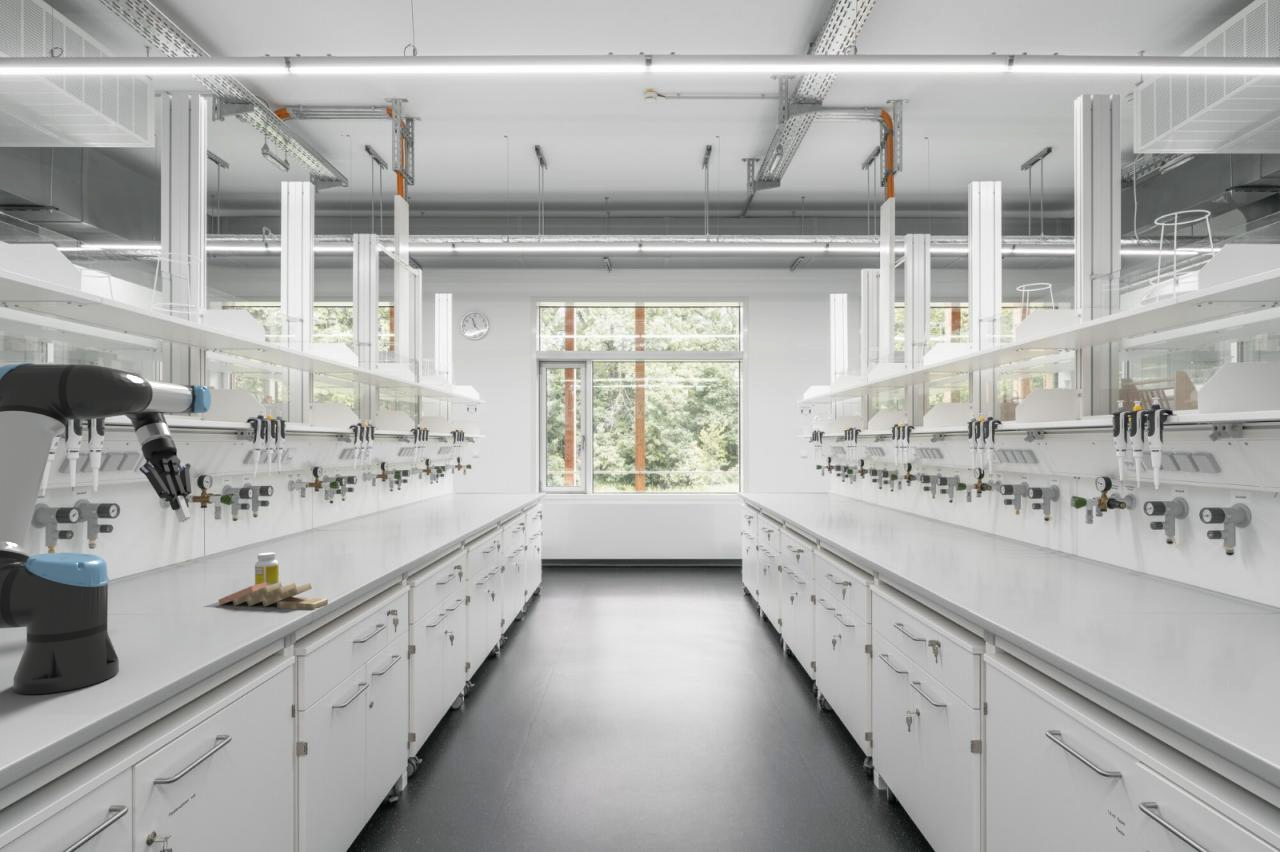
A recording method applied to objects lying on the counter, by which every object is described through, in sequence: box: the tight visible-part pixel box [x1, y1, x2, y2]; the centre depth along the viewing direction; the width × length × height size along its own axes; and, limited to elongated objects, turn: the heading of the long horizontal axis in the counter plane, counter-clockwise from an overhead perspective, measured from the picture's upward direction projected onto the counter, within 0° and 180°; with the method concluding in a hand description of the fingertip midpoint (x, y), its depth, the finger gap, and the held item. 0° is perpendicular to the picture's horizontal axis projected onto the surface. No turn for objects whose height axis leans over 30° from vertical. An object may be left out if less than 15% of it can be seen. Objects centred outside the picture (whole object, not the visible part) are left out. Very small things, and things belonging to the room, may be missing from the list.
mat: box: [203, 601, 280, 611], centre depth 186 cm, size 22×9×1 cm, turn 79°
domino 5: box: [277, 596, 329, 610], centre depth 183 cm, size 2×6×11 cm
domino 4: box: [262, 582, 313, 607], centre depth 184 cm, size 2×6×11 cm
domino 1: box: [217, 582, 268, 605], centre depth 187 cm, size 2×6×11 cm
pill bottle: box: [254, 552, 280, 586], centre depth 204 cm, size 6×6×11 cm
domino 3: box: [247, 582, 297, 606], centre depth 185 cm, size 2×6×11 cm
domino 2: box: [233, 581, 283, 606], centre depth 186 cm, size 2×6×11 cm
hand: (184, 519), depth 183 cm, fingers closed
